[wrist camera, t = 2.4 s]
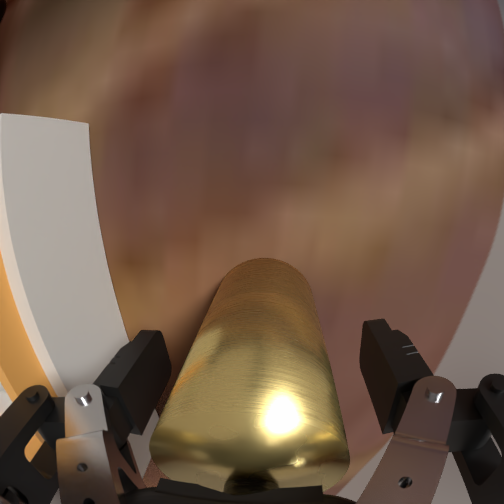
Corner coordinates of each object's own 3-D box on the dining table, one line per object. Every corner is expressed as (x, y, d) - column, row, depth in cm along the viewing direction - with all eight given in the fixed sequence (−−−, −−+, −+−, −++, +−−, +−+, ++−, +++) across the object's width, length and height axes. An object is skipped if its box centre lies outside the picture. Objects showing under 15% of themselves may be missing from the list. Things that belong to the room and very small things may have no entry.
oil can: (210, 261, 13) (87, 455, 3) (311, 254, 13) (384, 470, 3) (224, 344, 14) (168, 535, 4) (312, 340, 14) (341, 541, 4)
